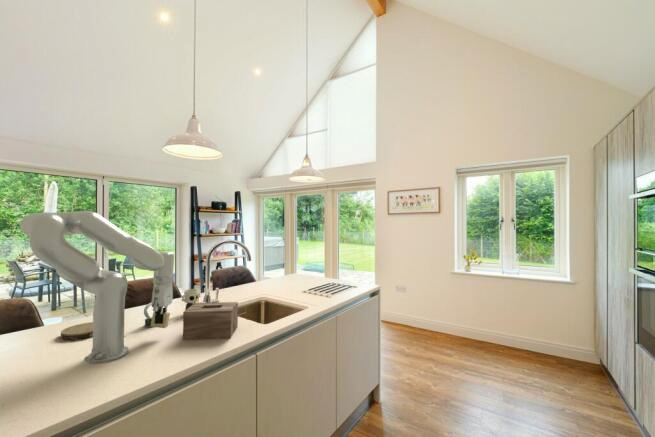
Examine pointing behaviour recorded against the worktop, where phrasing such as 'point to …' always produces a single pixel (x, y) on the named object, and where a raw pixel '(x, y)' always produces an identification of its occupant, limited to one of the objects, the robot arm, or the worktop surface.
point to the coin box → (210, 320)
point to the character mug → (190, 297)
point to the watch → (147, 316)
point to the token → (165, 320)
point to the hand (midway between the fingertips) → (160, 322)
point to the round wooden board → (78, 332)
